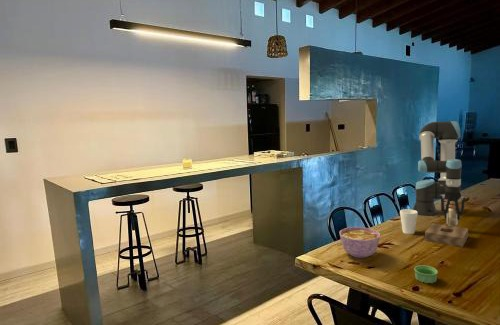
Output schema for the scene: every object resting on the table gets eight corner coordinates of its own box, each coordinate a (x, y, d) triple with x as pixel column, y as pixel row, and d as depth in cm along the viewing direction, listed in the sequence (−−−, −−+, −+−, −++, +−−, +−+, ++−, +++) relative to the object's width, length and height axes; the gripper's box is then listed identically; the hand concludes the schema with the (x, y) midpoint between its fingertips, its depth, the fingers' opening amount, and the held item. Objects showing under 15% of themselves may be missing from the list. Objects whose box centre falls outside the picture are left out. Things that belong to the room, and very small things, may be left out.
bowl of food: (332, 251, 177) (331, 230, 175) (362, 244, 184) (362, 224, 182) (356, 266, 158) (356, 243, 157) (389, 258, 165) (389, 236, 163)
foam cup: (399, 233, 197) (399, 212, 195) (400, 229, 205) (400, 208, 203) (417, 235, 193) (417, 214, 191) (417, 230, 201) (417, 210, 199)
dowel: (447, 230, 198) (447, 204, 196) (448, 228, 201) (449, 203, 199) (455, 232, 195) (456, 205, 193) (456, 230, 198) (457, 204, 196)
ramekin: (429, 273, 147) (430, 264, 147) (442, 283, 138) (442, 273, 138) (410, 275, 147) (410, 265, 146) (421, 285, 138) (421, 275, 138)
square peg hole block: (424, 240, 185) (425, 231, 184) (432, 231, 198) (432, 223, 198) (462, 247, 173) (462, 238, 173) (467, 237, 187) (468, 228, 186)
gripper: (435, 185, 197) (434, 223, 200) (469, 188, 186) (467, 228, 189) (438, 183, 203) (437, 219, 206) (471, 185, 192) (469, 224, 195)
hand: (452, 223), depth 197 cm, fingers closed on dowel, 4 cm apart
